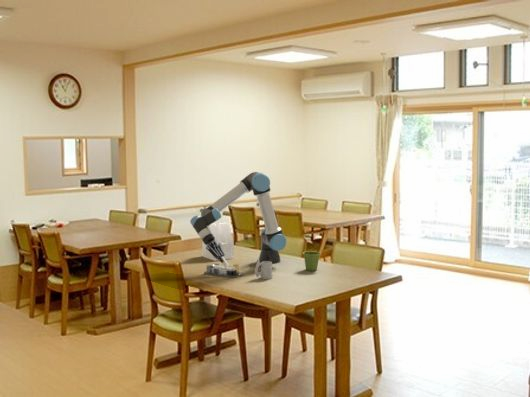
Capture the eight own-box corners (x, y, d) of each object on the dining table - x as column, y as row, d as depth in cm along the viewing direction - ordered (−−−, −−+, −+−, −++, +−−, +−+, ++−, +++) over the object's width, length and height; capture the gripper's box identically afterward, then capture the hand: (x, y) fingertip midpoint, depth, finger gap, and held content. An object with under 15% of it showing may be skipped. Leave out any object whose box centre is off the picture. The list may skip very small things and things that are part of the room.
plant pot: (299, 270, 397) (299, 253, 396) (306, 267, 408) (307, 250, 407) (316, 272, 392) (316, 255, 391) (323, 269, 402) (323, 252, 401)
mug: (274, 278, 375) (275, 259, 374) (257, 280, 370) (257, 261, 369) (269, 276, 382) (269, 257, 381) (252, 277, 377) (252, 258, 376)
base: (204, 273, 389) (204, 262, 388) (213, 270, 397) (213, 259, 397) (234, 278, 376) (234, 266, 375) (243, 275, 384) (243, 263, 384)
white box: (202, 256, 445) (202, 222, 442) (220, 254, 453) (220, 220, 450) (214, 260, 429) (214, 225, 426) (233, 258, 437) (233, 224, 434)
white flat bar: (209, 268, 390) (209, 265, 390) (214, 266, 394) (214, 264, 394) (231, 271, 380) (231, 268, 380) (236, 270, 384) (236, 267, 384)
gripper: (210, 239, 399) (229, 267, 391) (196, 241, 388) (216, 271, 381) (216, 231, 396) (236, 260, 388) (203, 234, 385) (223, 263, 377)
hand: (226, 265), depth 384 cm, fingers closed
